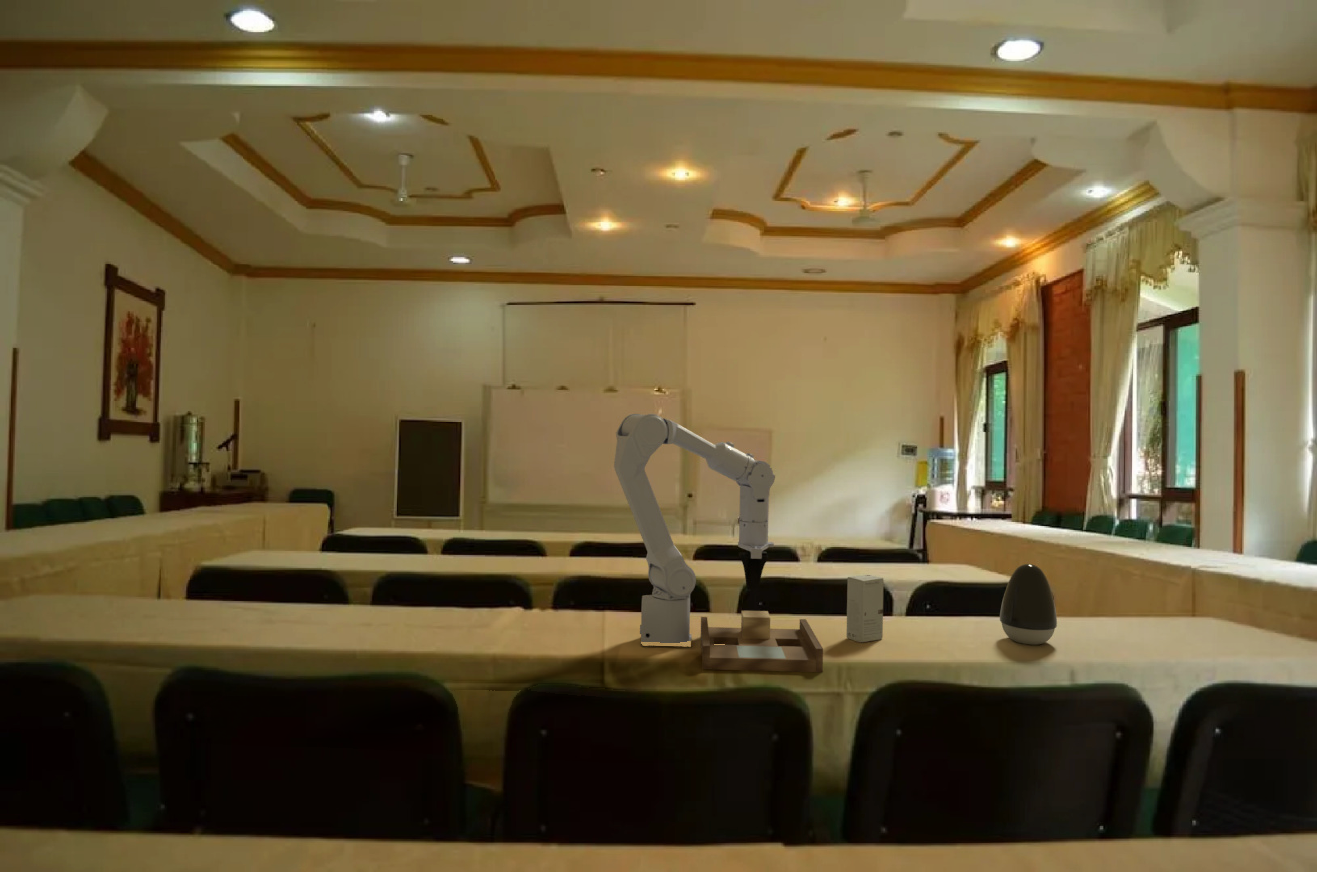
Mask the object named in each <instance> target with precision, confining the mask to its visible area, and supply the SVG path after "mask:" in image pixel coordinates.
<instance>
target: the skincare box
mask: <svg viewBox="0 0 1317 872" xmlns="http://www.w3.org/2000/svg"><path fill="white" fill-rule="evenodd" d="M846 588H847V589H846V591H847V592H846V601H847V602H846V638H848V639H849V640H852V641H855V642H857V643H861V642H862V643H866V642H867V643H868V642H873V641H879V640H882V639H883V635H884V633H883V629H884V628H883V626H884V625H883V623H884V621H883V620H884V618H883V617H884V578H883V577H880V576H876V575H872V574H871V575H870V574H866V575H865V574H863V575H854V576H853V575H852V576H848V577H847V587H846Z"/></svg>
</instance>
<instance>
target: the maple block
mask: <svg viewBox="0 0 1317 872" xmlns="http://www.w3.org/2000/svg"><path fill="white" fill-rule="evenodd" d="M740 611H741V614H740V615H741V616H740V618H741V619H740V620H741V621H740V628H741V633H742V637H743V638H746V639H770V629H771V616H770V613H769V611H768V610H740Z"/></svg>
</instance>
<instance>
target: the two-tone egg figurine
mask: <svg viewBox="0 0 1317 872" xmlns="http://www.w3.org/2000/svg"><path fill="white" fill-rule="evenodd" d="M999 621H1000V622H1001V626H1002V629H1003V632H1004V634H1005V635H1006V636H1007V637H1008V638H1009V639H1011V640H1012V641H1014V642H1015V643H1019V644H1023V645H1033V646H1035V645H1037V646H1038V645H1041V644H1045V643H1046V642H1048V641H1049V640H1051V638H1052V637H1053V635H1054V633H1055V630H1056V628H1057V627H1058V617H1057V611H1056V605H1055V601H1054V597H1053V592H1052V589H1051V585H1050V583H1049V580H1048V578H1047V576H1046V574H1045V573H1044V571H1043V570H1042V569H1041V568H1040V567H1038V565H1035V564H1032V563H1026V564H1025V563H1024V564H1021V565H1019V566H1018V567H1016V569H1015V570H1014V572H1013V573H1011V576H1010V578H1009V580H1008V583H1007V585H1006V589H1005V591H1004V594H1003V598H1002V602H1001V607H1000V612H999Z"/></svg>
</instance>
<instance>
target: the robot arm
mask: <svg viewBox="0 0 1317 872" xmlns="http://www.w3.org/2000/svg"><path fill="white" fill-rule="evenodd" d="M615 436H616V446H615V447H616V448H615V454H614V455H615V456H614V463H613V464H614V465H613V468H614V471H615V474H616V476H617V478H618V479H617V480H618V482H619V484H620V486H621V489H622V490H623V491H622V492H623V493H624V497H625V499H626V501H627V504H628V507H629V508H630V511H631V513H632V516H633V519H634V521H635V523H636V526H637V528H638V532H639V534H640V536H641V539H642V542H643V544H644V547H645V549H646V551H647V554H646V557H645V559H646V562H647V565H648V568H647V569H648V570H647V572H648V573H647V576H648V580H649V582H650V584H651V585H652V586H653V589H652V592H651V593H652V594H646V595H642V596H641V612H640V614H641V617H640V625H639V635H640V643H641V642H660V643H680V642H687V641H691V640H693V639H692V634H691V633H690V632H691V631H690V629H691V626H690V624H691V621H690V620H691V619H690V618H691V594H692V592H693V591H694V589H695V587H696V583H697V577H696V573H695V572H694V569H692V568H691V566H689V565H688V564H687V563H686V561H685V559H684V557H683V554H682V553H681V552H680V550H678V548H677V547H676V545H675V544H674V541H673V538H672V537H671V534H670V532H669V529H668V526H667V523H666V521H665V519H664V515H663V513H662V511H661V509H660V505H659V502H658V501H657V499H656V496H655V493H654V491H653V488H652V485H651V483H650V481H649V478H648V476H647V475H648V474H647V472H646V470H645V468H646V466H647V464H648V462H649V460H650V458H651V456H653V454H654V453H655V452H656V451H657V450H658V449H659V448H660V447H661V446H662V445H675V446H677V447H679V448H682V449H683V450H685V451H687V452H690V453H692V454H694V455H697V456H699V457H701V458H702V459H703V458H704V459H705V461H706V464H707V467H708V468H709V469H710V470H712V471H715V472H716V473H718V474H721V475H722V476H724V477H727V478H728V479H730V480H732V481H734V482H736V484H737V485H738V486H739V513H738V514H739V521H738V522H739V525H738V542H737V547H739V548H741V549H742V550H746V551H740V552H738V555H739V558H740V560H741V562H742V566H743V571H744V578H745V584H746V588H747V590H754V591H755V590H756V591H757V590H759V587H760V584H761V578H762V575H763V571H764V567H765V565H766V563H767V561H768V559H769V556H768V555H769V554H768V553H767V551H765V550H767V549H768V548H774V547H775V543H774V542H772V541H771V542H770V541H769V508H770V505H769V503H770V499H769V498H770V489H771V488H772V486H773V484H774V482H775V479H776V474H774V471H773V469H772V467H771V465H770V464H769V463H768V462H767V461H763V460H756V459H754V454H752V453H749V452H747V453H745V452H743V451H741V450H739V449H737V448H736V447H735V444H734V443H733V442H731V441H726V442H724V441H720V442H717V443H712V442H710V441H708V440H706V439H705V438H704V437H701V436H700V435H698V434H696V433H695V432H693V431H691V430H689V429H688V428H686V427H684V426H682V425H681V424H679V423H677V422H675V421H673V420H671V419H667V418H663V417H661V416H660V415H658V414H654V413H648V414H641V413H640V414H639V413H631V414H628V415H627V416H625V417H624V418H623V420H622V421H621V423H620V424H619V426H618V428H617V430H616V432H615Z"/></svg>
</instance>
